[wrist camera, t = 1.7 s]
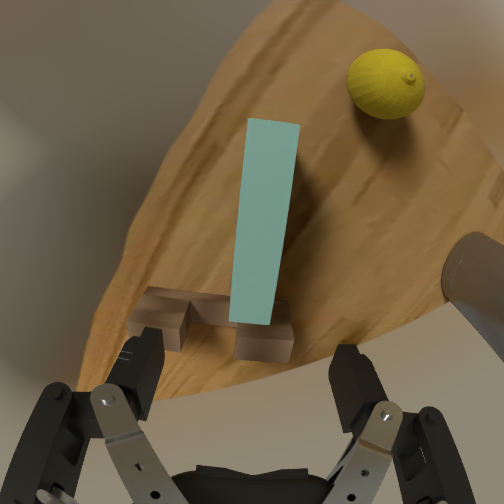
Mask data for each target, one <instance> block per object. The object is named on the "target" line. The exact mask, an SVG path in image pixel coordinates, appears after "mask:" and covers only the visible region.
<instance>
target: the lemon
mask: <svg viewBox="0 0 504 504" xmlns="http://www.w3.org/2000/svg"><path fill="white" fill-rule="evenodd" d="M346 84H347V89H348V93H349V95H350V97H351V99H352V100H353V102H354V103H355V104H356V106H357V107H358V108H360V109H361V110H362V111H363V112H365V113H367V114H368V115H370V116H373V117H376V118H379V119H388V120H393V119H398V118H402V117H405V116H407V115H408V114H410V113H412V112H413V111H415V110H416V109H417V107H418V106H419V105H420V104H421V102H422V100H423V97H424V93H425V81H424V78H423V75H422V73H421V71H420V69H419V67H418V66H417V65H416V64H415V62H414V61H413V60H411V59H410V58H409V57H408V56H406V55H404V54H403V53H401V52H398V51H395V50H391V49H375V50H372V51H368V52H365V53H363V54H362V55H361V56H359V57H358V58H356V59H355V60H354V62H353V63H352V65H351V66H350V68H349V71H348V74H347V82H346Z"/></svg>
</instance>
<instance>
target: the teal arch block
mask: <svg viewBox="0 0 504 504" xmlns="http://www.w3.org/2000/svg"><path fill="white" fill-rule="evenodd" d="M299 129H300V125H299V124H292V123H285V122H278V121H270V120H262V119H253V118H248V125H247V134H246V143H245V152H244V161H243V171H242V181H241V190H240V200H239V210H238V221H237V231H236V242H235V253H234V264H233V275H232V287H231V299H230V311H229V321H230V322H240V323H250V324H262V325H270V319H271V314H272V308H273V303H274V297H275V291H276V285H277V279H278V273H279V267H280V261H281V255H282V249H283V242H284V236H285V229H286V223H287V216H288V210H289V203H290V196H291V189H292V182H293V175H294V167H295V160H296V152H297V144H298V137H299Z"/></svg>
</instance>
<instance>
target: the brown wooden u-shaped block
mask: <svg viewBox="0 0 504 504" xmlns="http://www.w3.org/2000/svg"><path fill="white" fill-rule="evenodd" d="M230 299H231V296H223V295H214V294H205V293H196V292H188V291H180V290H172V289H165V288H157V287H150V286H148V287H147V289H146V290H145V292H144V293H143V295H142V296H141V298H140V300H139V301H138V303H137V304H136V306H135V307H134V309H133V311H132V312H131V314H130V316H129V317H128V319H127V320H126V322H127V328H128V333H129V338H131V337H132V336H138V337H140V336H141V333H142V331H143V329H144V328H145V327H152V328H158V329H162V333H163V343H164V350H168V351H174V352H180V353H181V350H182V347H183V343H184V340H185V337H186V334H187V330H188V327H189V324H190V322H193V323H201V324H209V325H218V326H227V327H237V328H236V340H235V352H234V359H237V360H249V361H262V362H279V363H289V359H290V355H291V352H292V348H293V344H294V336H293V330H292V325H291V319H290V314H289V309H288V303H287V301H275V300H274V303H273V308H272V314H271V319H270V325H262V324H250V323H240V322H230V321H229V311H230Z"/></svg>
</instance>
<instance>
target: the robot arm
mask: <svg viewBox="0 0 504 504" xmlns="http://www.w3.org/2000/svg"><path fill="white" fill-rule="evenodd" d="M442 289H443V293H444V294H445V296H446V297H447V298H448V299H449V301H450V302H451V303H452V304H453V305H454V306H455V307H456V308H457V309H458V310H459V311H460V312H461V313H462V314H463V316H464V317H465V318H466V319H467V320H468V321H469V322H470V323H471V324H472V325H473V327H475V329H476V330H477V331H478V332H479V333H480V335H481V336H482V337H483V338H484V339H485V340H486V341H487V343H488V344H489V345H490V346H491V348H492V349H493V350H494V351H495V352H496V354H497V355H498V356H499V357H500V359H501V360H502V361H503V362H504V246H503V245H502V244H500V243H499V242H497V241H495V240H494V239H492V238H490V237H488V236H487V235H485V234H483V233H480V232H473V233H471V234H468V235H467V236H465V237H464V238H462V239H461V240H460V241H459V242H458V243H457V244H456V246H455V247H454V248H453V250H452V251H451V253H450V255H449V256H448V259H447V261H446V263H445V266H444V270H443V273H442ZM164 359H165V352H164V343H163V333H162V329H158V328H152V327H145V328H144V329H143V331H142V333H141V336H140V337H138V336H132V337H131V338H130V339H129V340H127V341H126V342H125V344H124V346H123V348H122V350H121V352H120V354H119V356H118V358H117V360H116V362H115V364H114V366H113V368H112V370H111V372H110V374H109V376H108V378H107V380H106V382H105V383H104V384H101V385H98V386H97V387H95V388H94V389H93V390H92V391H91V392H72V391H71V389H70V388H69V386H67V385H66V384H64V383H61V382H54V383H51V384H49V385H48V386H46V387H45V389H44V390H43V392H42V394H41V396H40V398H39V400H38V402H37V404H36V406H35V408H34V410H33V412H32V414H31V416H30V418H29V420H28V422H27V424H26V427H25V429H24V431H23V433H22V436H21V438H20V440H19V443H18V445H17V448H16V450H15V452H14V455H13V458H12V461H11V463H10V466H9V468H8V471H7V474H6V477H5V480H4V483H3V486H2V489H1V492H0V504H79V503H78V502H77V501H76V500H75V499H74V496H75V491H76V487H77V483H78V479H79V476H80V472H81V468H82V465H83V461H84V457H85V454H86V450H87V448H88V444H89V441H90V438H104V439H105V445H106V447H107V450H108V452H109V454H110V457H111V459H112V461H113V463H114V465H115V468H116V469H117V471H118V474H119V475H120V477H121V480H122V482H123V484H124V486H125V487H126V489H127V491H128V493H129V495H130V496H131V498H132V500H133V502H134V503H133V504H371V503H372V501H373V499H374V497H375V495H376V493H377V491H378V489H379V487H380V485H381V483H382V481H383V478H384V476H385V474H386V472H387V469H388V467H389V465H390V462H391V460H392V458H393V462H394V465H395V470H396V473H397V478H398V482H399V487H400V491H401V495H402V500H403V504H476V502H475V499H474V496H473V492H472V489H471V487H470V483H469V480H468V477H467V474H466V471H465V469H464V466H463V463H462V460H461V458H460V455H459V452H458V450H457V447H456V445H455V443H454V440H453V438H452V435H451V433H450V430H449V428H448V426H447V424H446V421H445V419H444V417H443V415H442V413H441V412H440V411H439V410H438V409H436V408H434V407H430V406H428V407H424V408H422V410H421V411H420V412H419V413H408V412H402V410H401V408H400V407H399V406H398V405H397V404H395V403H393V402H391V401H389V400H388V398H387V396H386V393H385V391H384V389H383V387H382V384H381V382H380V380H379V378H378V375H377V373H376V371H375V369H374V366H373V364H372V362H371V361H370V360H369V359H368V358H367V357H366V356H365V355H364V354H360V353H359V351H358V348H357V346H356V345H355V344H339V345H338V346H337V349H336V351H335V354H334V357H333V360H332V362H331V364H330V367H329V381H330V385H331V388H332V392H333V396H334V399H335V403H336V407H337V410H338V414H339V418H340V422H341V425H342V429H343V433H349V432H352V434H353V437H352V439H351V441H350V442H349V444H348V446H347V448H346V449H345V451H344V453H343V454H342V456H341V458H340V459H339V461H338V463H337V464H336V466H335V467H334V469H333V470H332V472H331V473H330V474H329V475H328V477H327V478H326V479H323V478H321V477H318V476H314V475H309V474H308V469H307V468H303V469H282V470H277V471H273V472H268V473H264V474H259V475H249V474H245V473H241V472H237V471H234V470H230V469H227V468H221V467H211V466H202V465H197V466H196V471H188V472H183V473H180V474H177V475H175V476H172V477H170V476H169V474H168V473H167V471H166V470H165V468H164V466H163V465H162V463H161V462H160V460H159V458H158V457H157V455H156V453H155V452H154V450H153V448H152V447H151V445H150V443H149V441H148V439H147V437H146V436H145V434H144V432H143V431H142V430H141V428H140V427H139V425H138V420H143V421H146V420H147V417H148V413H149V410H150V407H151V403H152V400H153V397H154V394H155V391H156V387H157V384H158V381H159V378H160V375H161V372H162V369H163V365H164ZM421 449H422V451H421ZM422 452H423V454H422ZM423 455H424V457H423ZM424 458H425V460H424ZM425 462H426V463H425Z"/></svg>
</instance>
